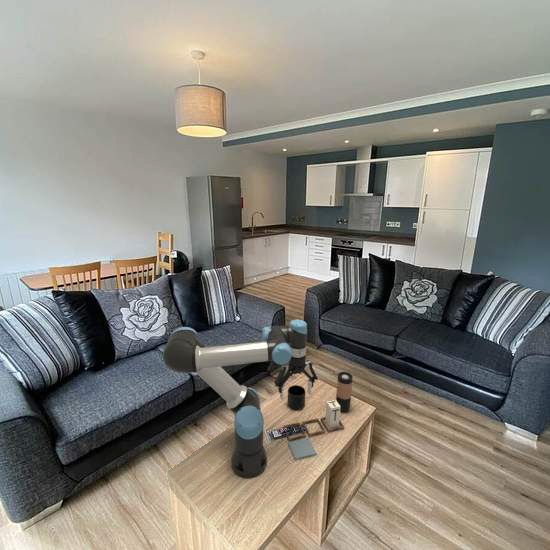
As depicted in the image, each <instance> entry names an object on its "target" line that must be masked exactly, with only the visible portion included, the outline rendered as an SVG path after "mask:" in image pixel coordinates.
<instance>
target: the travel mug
mask: <svg viewBox="0 0 550 550" xmlns="http://www.w3.org/2000/svg"><path fill="white" fill-rule="evenodd" d="M336 383H337V384H336V392H335V393H336V394H335V400H336V401H337V402H338V404H339V405H340V406H341V407H340V414H347V413H349V412H350V407H351V401H352V400H351V399H352V392H353V391H352V389H353V374H351V373H350V372H347V371H340V372H338V374H337V382H336Z"/></svg>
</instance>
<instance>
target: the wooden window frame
mask: <svg viewBox="0 0 550 550" xmlns="http://www.w3.org/2000/svg"><path fill="white" fill-rule="evenodd" d="M313 423H317V424H318V426H319V427H320V429H321V430H320V431H314V432H309V429H308V428H307V427H306V425H308V424H309V425H310V424H313ZM301 426H302V427H303V426H304V427H303V429H304V428H305V429H304V432H306V433H305V434H306V436H308V437H307V438H311V437H315V436H320V435H324V434H326V429H325V427H324V425H323V424H322V422H321V420H320V419H319V418H314V419H308V420H304V421H302V422H301Z"/></svg>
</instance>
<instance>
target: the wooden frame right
mask: <svg viewBox="0 0 550 550" xmlns="http://www.w3.org/2000/svg"><path fill="white" fill-rule="evenodd" d="M319 421H320V423H321V424H322V426H323V428H324V429H325V431H326V432H327V434H328V433H333V432H337V431H341V430H344V429H345V427H344V424H343V423H342V422H341V419H339V427H336V428H332V429H329V428H328V426H327V424H326V423H325V416H322V417H320V419H319Z"/></svg>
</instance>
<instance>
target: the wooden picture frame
mask: <svg viewBox="0 0 550 550" xmlns="http://www.w3.org/2000/svg"><path fill="white" fill-rule="evenodd" d="M296 425H299V426H300V427H299V426H298V427H299V429H300V428H301V429H300V431H301V433H302V434H301V435H296V436H292V437H290V436H289V433H288V431H287V428H286V427H290V426H295V427H297V426H296ZM283 428H284V429H285V428H286V429H285V432H286V434H285V436H286V438H287V441H288V442H292V441H296V440H301V439H305V438H307V433H305V432H306V431H305V429H304V427H303V425H302V423H301V422H295V423H289V424H285V425H283V426H282V429H283ZM284 429H283V430H284ZM285 432H284V433H285Z"/></svg>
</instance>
